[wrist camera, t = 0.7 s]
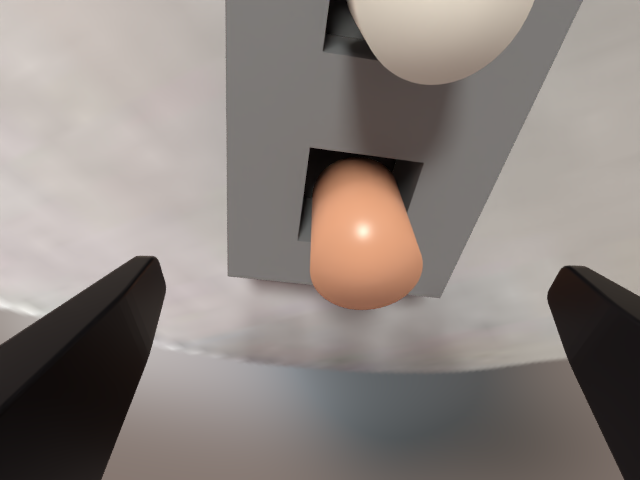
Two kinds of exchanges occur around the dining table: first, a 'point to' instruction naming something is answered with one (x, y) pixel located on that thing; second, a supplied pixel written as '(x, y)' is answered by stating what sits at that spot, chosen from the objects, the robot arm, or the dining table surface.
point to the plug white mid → (438, 34)
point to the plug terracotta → (361, 236)
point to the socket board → (365, 131)
